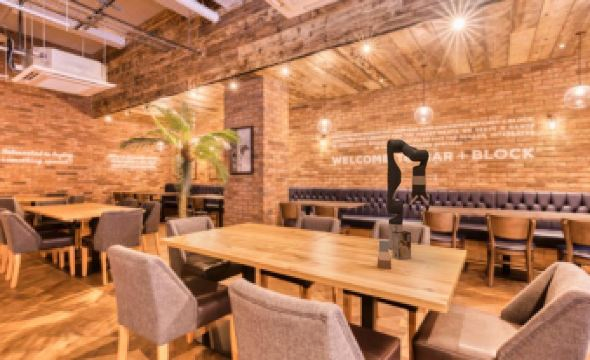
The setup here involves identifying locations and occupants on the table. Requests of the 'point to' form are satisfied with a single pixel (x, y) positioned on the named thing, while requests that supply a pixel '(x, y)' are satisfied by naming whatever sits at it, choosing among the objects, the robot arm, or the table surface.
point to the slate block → (383, 245)
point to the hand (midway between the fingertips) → (418, 211)
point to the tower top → (384, 255)
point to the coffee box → (401, 245)
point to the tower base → (384, 264)
